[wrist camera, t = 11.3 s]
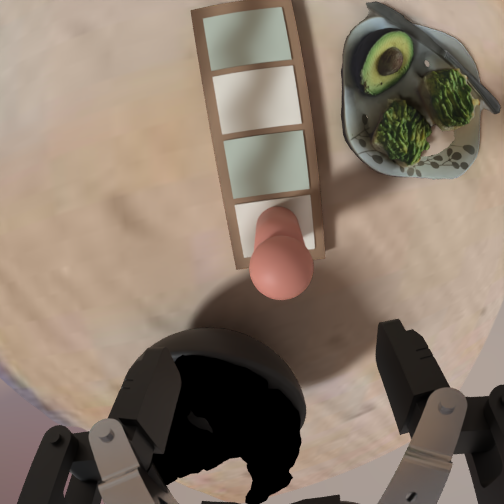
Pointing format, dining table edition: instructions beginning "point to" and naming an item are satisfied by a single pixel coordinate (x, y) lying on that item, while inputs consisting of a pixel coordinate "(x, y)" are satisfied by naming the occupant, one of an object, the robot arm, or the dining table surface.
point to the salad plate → (409, 97)
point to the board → (259, 118)
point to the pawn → (280, 255)
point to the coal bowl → (232, 409)
